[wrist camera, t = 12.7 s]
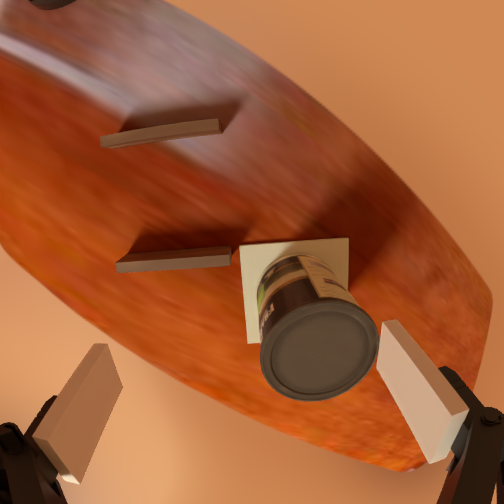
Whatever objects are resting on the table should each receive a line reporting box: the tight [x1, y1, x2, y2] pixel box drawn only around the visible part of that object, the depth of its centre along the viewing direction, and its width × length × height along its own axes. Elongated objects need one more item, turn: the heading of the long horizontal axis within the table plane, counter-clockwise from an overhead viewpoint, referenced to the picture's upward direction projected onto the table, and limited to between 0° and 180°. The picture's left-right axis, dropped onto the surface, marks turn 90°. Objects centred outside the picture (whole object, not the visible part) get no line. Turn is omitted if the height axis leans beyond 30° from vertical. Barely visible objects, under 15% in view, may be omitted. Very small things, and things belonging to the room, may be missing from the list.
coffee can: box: [256, 253, 379, 401], centre depth 32 cm, size 10×10×14 cm
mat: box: [239, 237, 349, 343], centre depth 39 cm, size 13×13×1 cm
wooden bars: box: [101, 118, 232, 273], centre depth 34 cm, size 15×13×4 cm
